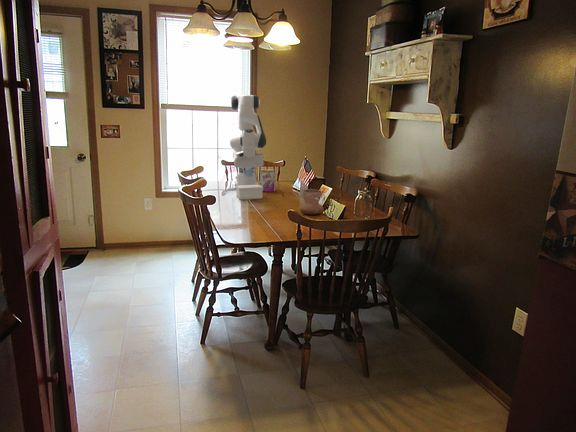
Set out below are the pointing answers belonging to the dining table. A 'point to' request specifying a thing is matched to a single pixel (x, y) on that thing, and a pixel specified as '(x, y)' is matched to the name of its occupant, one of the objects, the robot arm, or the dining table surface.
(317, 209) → the ceramic jug
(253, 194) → the carton
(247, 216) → the dining table surface
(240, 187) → the lid
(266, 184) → the candy bar box
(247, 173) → the blue tapered cylinder
